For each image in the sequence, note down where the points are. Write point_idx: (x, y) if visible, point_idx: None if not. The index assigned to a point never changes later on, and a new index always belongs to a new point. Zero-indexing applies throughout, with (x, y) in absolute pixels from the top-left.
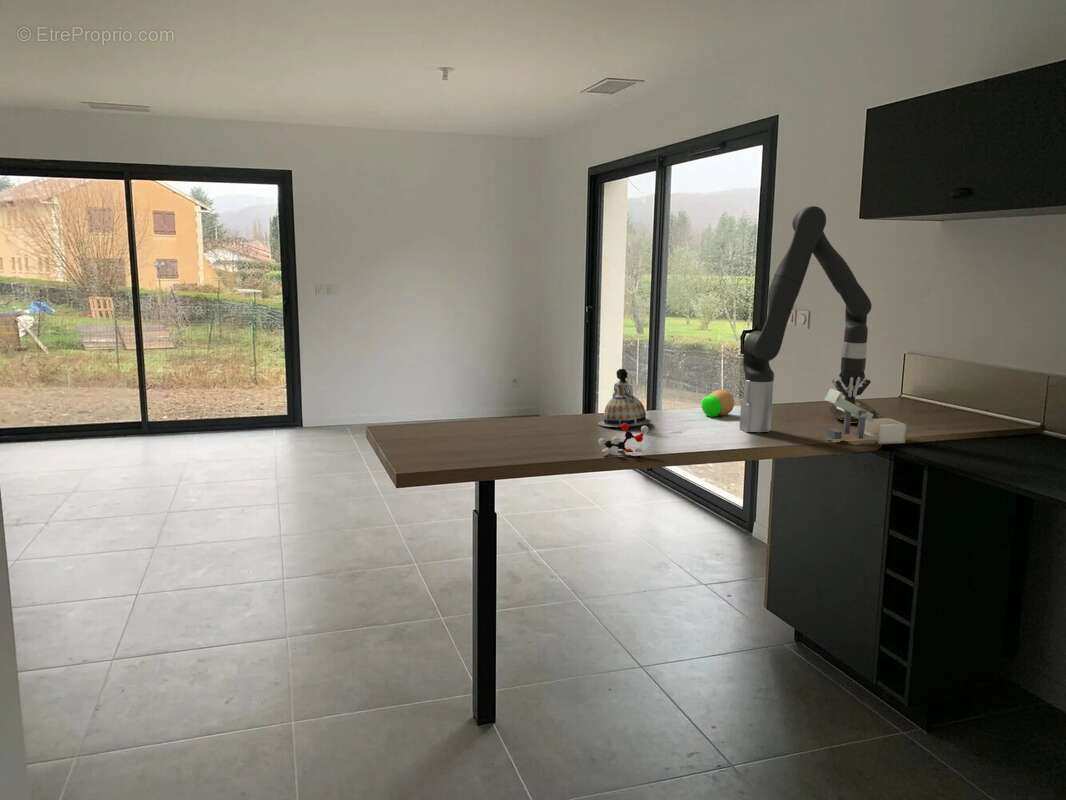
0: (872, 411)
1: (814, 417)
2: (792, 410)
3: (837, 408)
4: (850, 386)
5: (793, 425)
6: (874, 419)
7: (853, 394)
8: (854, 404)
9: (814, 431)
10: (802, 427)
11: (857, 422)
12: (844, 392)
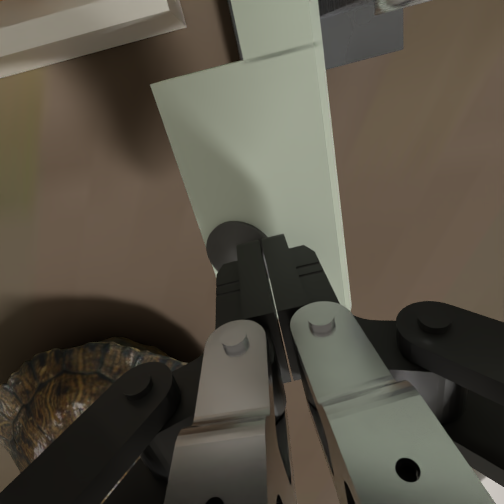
0: (36, 425)
1: (300, 434)
2: (338, 501)
3: (349, 289)
4: (432, 474)
5: (474, 296)
6: (36, 18)
7: (260, 347)
8: (217, 276)
9: (440, 176)
10: (453, 262)
11: (142, 349)
12: (465, 334)
